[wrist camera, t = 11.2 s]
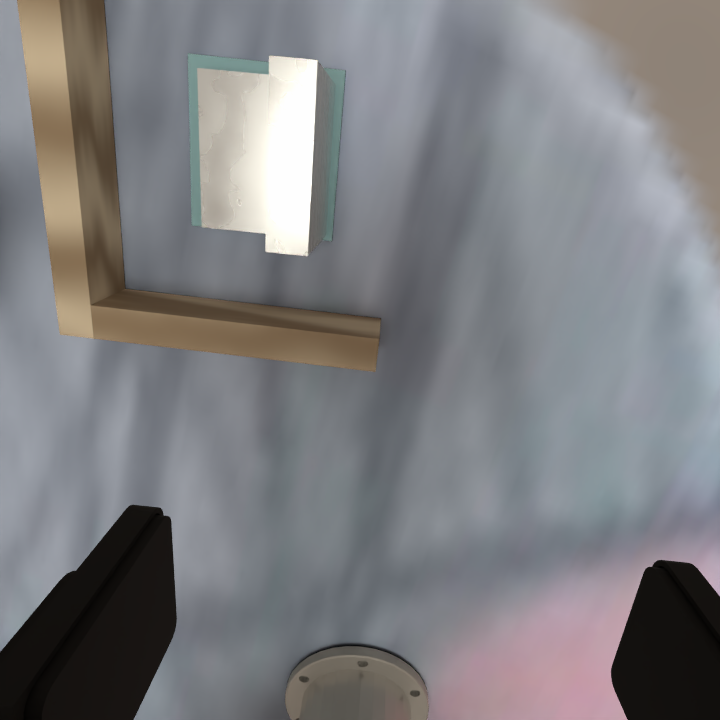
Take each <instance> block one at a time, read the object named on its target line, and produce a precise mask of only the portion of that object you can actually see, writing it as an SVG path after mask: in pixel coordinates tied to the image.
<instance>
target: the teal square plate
mask: <svg viewBox="0 0 720 720" xmlns="http://www.w3.org/2000/svg"><path fill="white" fill-rule="evenodd" d="M197 68H204V69H214V70H225V71H236V72H247V73H258V74H268V75H269V62H262V61H253V60H244V59H234V58H225V57H216V56H207V55H197V54H188V79H189V124H190V169H191V214H192V225H194V226H202V222H201V186H200V151H199V115H198V79H197ZM324 70H325V71H326V72H327V74H328V75H329V76H330V78H331V79H332V80H333V82H334V83H335V85H336V86H335V102H334V118H333V134H332V150H331V166H330V182H329V198H328V214H327V230H326V236H325V238H324V239H323V240H325V241H332V235H333V222H334V210H335V197H336V185H337V173H338V160H339V148H340V135H341V123H342V111H343V98H344V86H345V73H346V71H345V70H336V69H327V68H324ZM264 234H265V233H264Z"/></svg>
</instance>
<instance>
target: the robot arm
mask: <svg viewBox="0 0 720 720" xmlns="http://www.w3.org/2000/svg"><path fill="white" fill-rule="evenodd" d="M176 620H177V616H176V599H175V581H174V563H173V545H172V528H171V519H170V517H169V516H163V511H162V509H161V508H158V507H149V506H139V505H131V506H129V507H128V508H127V509H126V510H125V511H124V512H123V514H122V515H121V516H120V517H119V519H118V520H117V521H116V522H115V523H114V525H113V526H112V527H111V528H110V530H109V531H108V532H107V533H106V535H105V536H104V537H103V538H102V540H101V541H100V542H99V543H98V544H97V546H96V547H95V548H94V549H93V551H92V552H91V553H90V554H89V556H88V557H87V558H86V559H85V560H84V562H83V563H82V564H81V565H80V567H79V568H78V569H77V570H76V571H72V572H70V573H68V574H66V575H65V576H64V577H63V578H62V579H61V580H60V581H59V582H58V583H57V585H56V586H55V587H54V588H53V589H52V591H51V592H50V593H49V594H48V595H47V597H46V598H45V599H44V600H43V601H42V603H41V604H40V605H39V606H38V607H37V609H36V610H35V611H34V612H33V613H32V615H31V616H30V617H29V618H28V620H27V621H26V622H25V623H24V624H23V626H22V627H21V628H20V629H19V630H18V632H17V633H16V634H15V635H14V636H13V638H12V639H11V640H10V641H9V642H8V644H7V645H6V646H5V647H4V648H3V650H2V651H1V652H0V720H134V717H135V715H136V713H137V711H138V709H139V707H140V705H141V703H142V701H143V699H144V697H145V695H146V692H147V690H148V688H149V686H150V684H151V682H152V680H153V678H154V676H155V674H156V672H157V669H158V667H159V665H160V663H161V661H162V659H163V657H164V655H165V653H166V651H167V649H168V646H169V644H170V642H171V640H172V638H173V635H174V632H175V628H176ZM611 678H612V684H613V687H614V690H615V692H616V694H617V697H618V699H619V701H620V704H621V706H622V708H623V710H624V713H625V715H626V717H627V719H628V720H720V596H719V595H718V594H717V593H716V591H715V590H714V589H713V588H712V586H711V585H710V584H709V583H708V581H707V580H706V579H705V577H704V576H703V575H702V574H701V572H700V571H699V570H698V569H697V568H696V567H695V566H694V565H693V564H690V563H684V562H675V561H665V560H658V561H656V562H655V563H654V564H653V566H652V567H648V568H646V569H645V571H644V574H643V576H642V579H641V582H640V585H639V588H638V591H637V594H636V597H635V600H634V603H633V606H632V609H631V612H630V615H629V618H628V620H627V623H626V626H625V629H624V632H623V635H622V638H621V641H620V644H619V647H618V650H617V653H616V656H615V659H614V661H613V664H612V669H611ZM285 705H286V710H287V712H288V714H289V717H290V719H291V720H426V719H427V717H428V709H429V704H428V693H427V690H426V687H425V684H424V682H423V680H422V679H421V677H420V676H419V674H418V673H417V672H416V671H415V670H414V669H413V668H412V667H411V666H410V665H408V664H407V663H405V662H404V661H402V660H401V659H399V658H397V657H395V656H393V655H391V654H389V653H387V652H383V651H380V650H377V649H373V648H367V647H360V646H344V647H335V648H331V649H327V650H323V651H320V652H318V653H316V654H313V655H311V656H309V657H308V658H306V659H305V660H304V661H302V662H301V663H300V664H299V665H298V666H297V667H296V668H295V669H294V670H293V672H292V674H291V676H290V677H289V680H288V684H287V688H286V693H285Z"/></svg>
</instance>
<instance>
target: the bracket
mask: <svg viewBox="0 0 720 720" xmlns="http://www.w3.org/2000/svg"><path fill="white" fill-rule="evenodd" d="M197 79H198V115H199V151H200V186H201V222H202V227H205V228H215V229H225V230H235V231H245V232H255V233H265V234H266V249H265V252H271V253H281V254H291V255H301V256H308V255H309V254H310V253H311V252H312V251H313V250H314V249H315V248H316V246H317V245H318V244H319V243H320V242H321V241H322V240H323V239H324V238H325V236H326V230H327V214H328V198H329V182H330V166H331V150H332V134H333V118H334V102H335V86H336V85H335V83H334V82H333V80H332V79H331V78H330V76H329V75H328V74H327V72H326V71H325V70H324V68H323V67H322V65H321V64H320V63H319V61H318V60H311V59H300V58H289V57H278V56H269V75H268V74H258V73H247V72H236V71H225V70H214V69H204V68H197Z"/></svg>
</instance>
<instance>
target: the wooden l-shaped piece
mask: <svg viewBox="0 0 720 720" xmlns="http://www.w3.org/2000/svg"><path fill="white" fill-rule="evenodd" d="M17 3H18V11H19V19H20V27H21V34H22V42H23V50H24V58H25V66H26V73H27V81H28V89H29V97H30V105H31V112H32V120H33V128H34V136H35V144H36V151H37V159H38V167H39V175H40V183H41V190H42V198H43V206H44V214H45V222H46V230H47V237H48V245H49V253H50V261H51V269H52V276H53V284H54V292H55V300H56V308H57V315H58V323H59V331H60V335H69V336H77V337H86V338H94V339H102V340H111V341H119V342H128V343H136V344H145V345H153V346H162V347H170V348H179V349H187V350H195V351H204V352H212V353H221V354H229V355H238V356H246V357H255V358H263V359H271V360H280V361H288V362H297V363H305V364H314V365H322V366H331V367H339V368H348V369H356V370H364V371H373V372H375V370H376V362H377V354H378V346H379V337H380V324H381V318H372V317H363V316H355V315H346V314H338V313H329V312H320V311H312V310H303V309H295V308H286V307H277V306H269V305H260V304H252V303H243V302H235V301H226V300H217V299H209V298H200V297H192V296H183V295H174V294H166V293H157V292H149V291H140V290H131V289H125V279H124V265H123V252H122V238H121V224H120V211H119V197H118V184H117V170H116V157H115V143H114V130H113V116H112V103H111V89H110V76H109V62H108V49H107V35H106V22H105V8H104V0H17Z"/></svg>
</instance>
